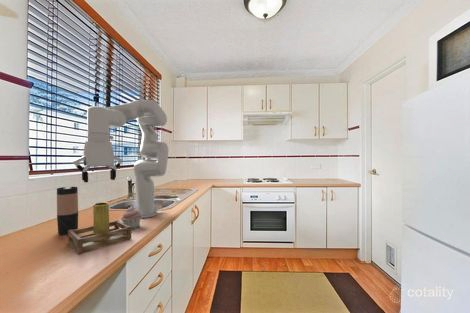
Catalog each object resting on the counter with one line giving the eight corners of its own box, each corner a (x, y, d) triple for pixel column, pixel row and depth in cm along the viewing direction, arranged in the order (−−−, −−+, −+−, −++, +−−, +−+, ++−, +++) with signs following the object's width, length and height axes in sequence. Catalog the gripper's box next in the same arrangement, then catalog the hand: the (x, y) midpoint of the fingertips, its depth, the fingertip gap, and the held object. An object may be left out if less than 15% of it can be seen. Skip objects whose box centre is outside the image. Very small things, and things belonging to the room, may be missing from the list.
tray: (117, 231, 101) (117, 219, 101) (131, 239, 92) (131, 226, 92) (68, 243, 88) (67, 230, 88) (78, 254, 78) (77, 239, 78)
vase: (91, 243, 86) (90, 206, 86) (94, 237, 92) (93, 202, 92) (109, 240, 88) (108, 204, 88) (111, 235, 94) (110, 201, 94)
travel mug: (67, 235, 96) (66, 189, 96) (52, 234, 98) (51, 188, 97) (82, 229, 104) (81, 186, 103) (69, 228, 105) (68, 186, 105)
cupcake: (144, 228, 105) (143, 207, 105) (121, 231, 101) (121, 209, 100) (141, 223, 113) (140, 203, 113) (120, 226, 109) (120, 205, 108)
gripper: (118, 139, 99) (118, 178, 99) (70, 137, 86) (71, 182, 86) (125, 138, 94) (125, 179, 94) (75, 136, 81) (76, 184, 81)
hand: (99, 180), depth 90 cm, fingers open, 9 cm apart
